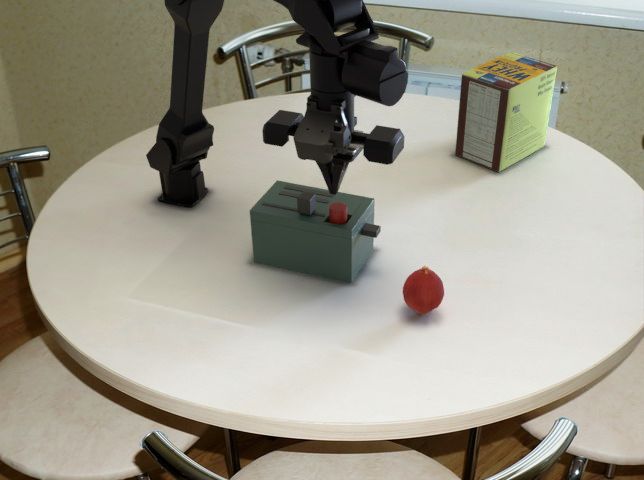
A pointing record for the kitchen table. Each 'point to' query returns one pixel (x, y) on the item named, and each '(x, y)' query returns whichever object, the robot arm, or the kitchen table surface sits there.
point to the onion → (423, 290)
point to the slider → (306, 203)
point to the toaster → (312, 232)
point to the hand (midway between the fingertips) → (334, 193)
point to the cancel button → (338, 213)
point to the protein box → (504, 110)
